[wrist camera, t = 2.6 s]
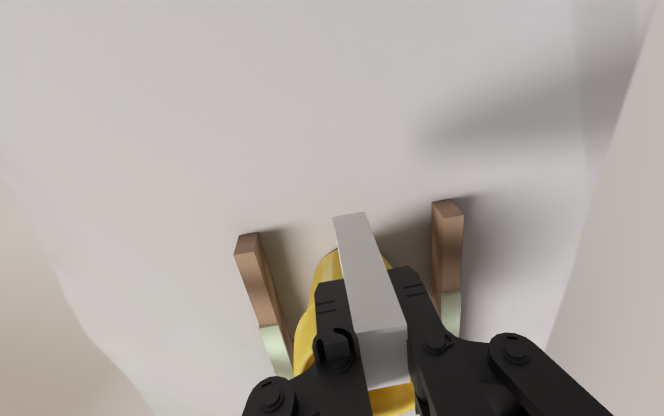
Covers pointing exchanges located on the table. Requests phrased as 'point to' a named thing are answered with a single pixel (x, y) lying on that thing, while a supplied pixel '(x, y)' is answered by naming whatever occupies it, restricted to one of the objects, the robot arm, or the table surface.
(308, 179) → the table surface
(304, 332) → the plant pot
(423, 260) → the table surface
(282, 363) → the pair of brown bars
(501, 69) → the table surface
